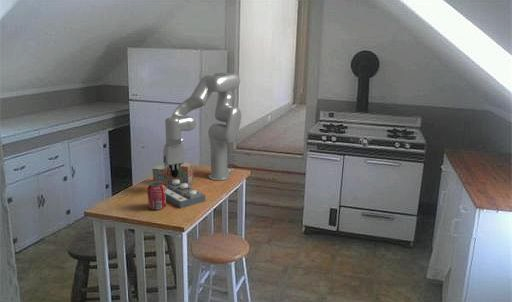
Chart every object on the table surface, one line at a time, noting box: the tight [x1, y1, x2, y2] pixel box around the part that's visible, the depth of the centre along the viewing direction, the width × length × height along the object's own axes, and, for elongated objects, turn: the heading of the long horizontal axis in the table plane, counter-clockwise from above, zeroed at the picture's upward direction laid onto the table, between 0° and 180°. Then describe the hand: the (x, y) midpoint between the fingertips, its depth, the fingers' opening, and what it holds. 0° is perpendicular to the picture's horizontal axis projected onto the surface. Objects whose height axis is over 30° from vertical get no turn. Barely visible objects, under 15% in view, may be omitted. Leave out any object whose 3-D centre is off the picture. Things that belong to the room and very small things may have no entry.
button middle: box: [180, 183, 188, 189], centre depth 199 cm, size 4×4×2 cm
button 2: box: [188, 189, 198, 195], centre depth 193 cm, size 4×4×2 cm
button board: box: [165, 183, 206, 209], centre depth 198 cm, size 14×23×5 cm, turn 41°
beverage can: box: [147, 181, 167, 211], centre depth 185 cm, size 8×8×12 cm
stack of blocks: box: [152, 162, 194, 188], centre depth 217 cm, size 21×6×12 cm, turn 74°
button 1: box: [172, 179, 180, 185], centre depth 204 cm, size 4×4×2 cm
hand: (174, 176), depth 203 cm, fingers closed
